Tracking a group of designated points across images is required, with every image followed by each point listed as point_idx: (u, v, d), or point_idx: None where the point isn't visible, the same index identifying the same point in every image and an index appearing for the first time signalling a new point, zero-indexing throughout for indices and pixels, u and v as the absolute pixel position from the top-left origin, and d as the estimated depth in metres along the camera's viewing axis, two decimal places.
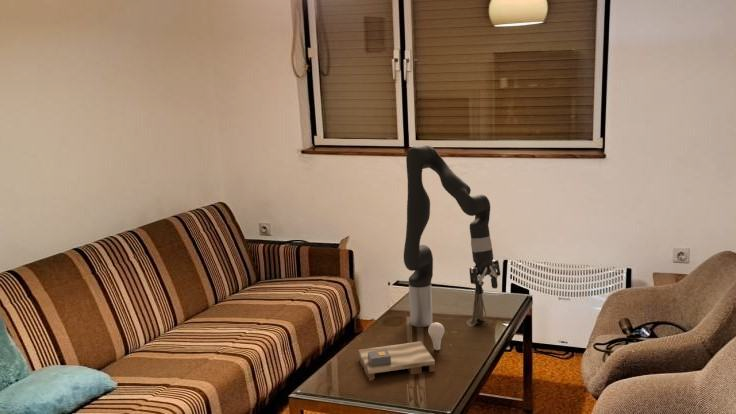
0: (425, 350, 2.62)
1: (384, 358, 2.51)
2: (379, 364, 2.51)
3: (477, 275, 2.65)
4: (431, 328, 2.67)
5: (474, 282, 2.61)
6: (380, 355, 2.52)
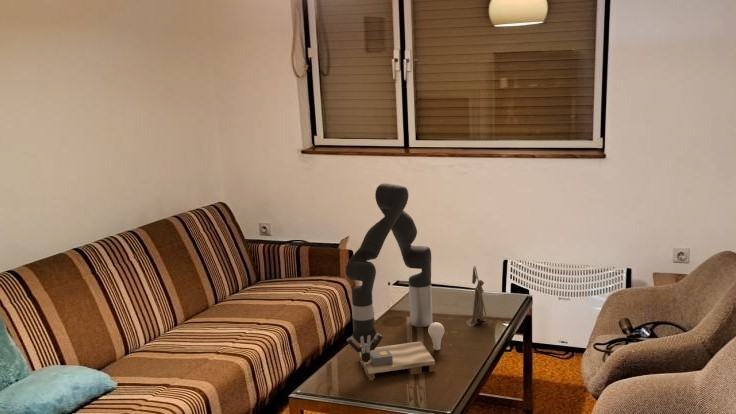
0: (425, 350, 2.62)
1: (385, 358, 2.51)
2: (381, 364, 2.51)
3: None
4: (431, 328, 2.67)
5: None
6: (382, 355, 2.52)
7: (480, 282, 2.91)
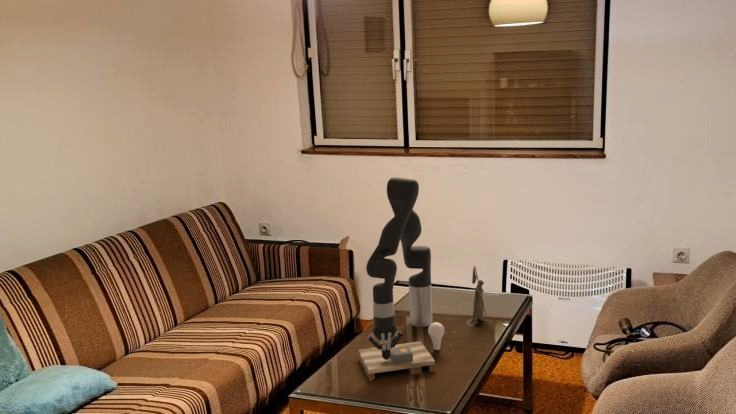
0: (425, 350, 2.62)
1: (406, 355, 2.52)
2: (401, 361, 2.52)
3: None
4: (431, 328, 2.67)
5: None
6: (402, 352, 2.54)
7: (480, 282, 2.91)
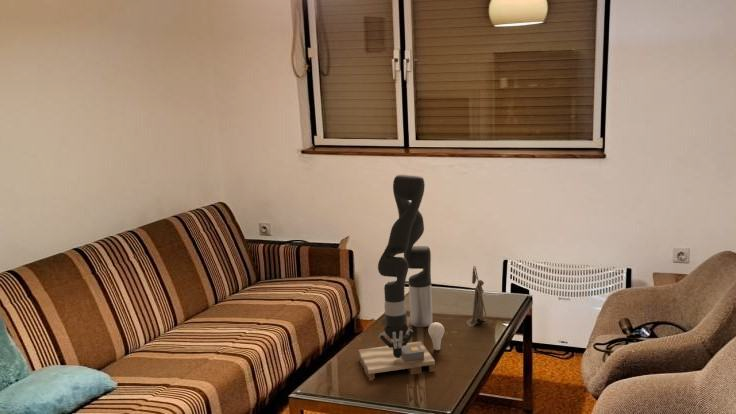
0: (425, 350, 2.62)
1: (417, 354, 2.53)
2: (412, 359, 2.53)
3: None
4: (431, 328, 2.67)
5: None
6: (413, 350, 2.54)
7: (480, 282, 2.91)
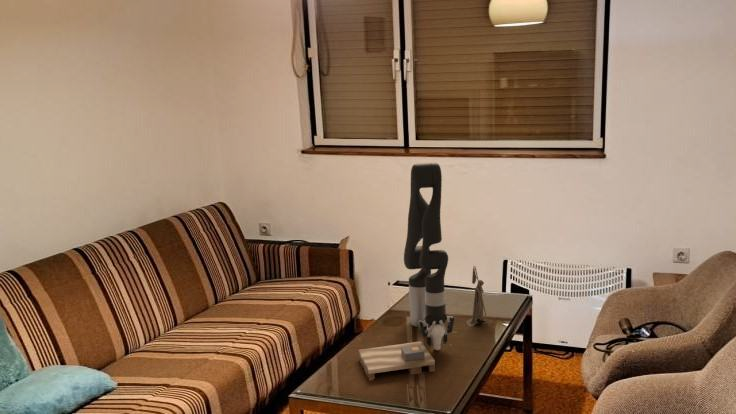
0: (425, 350, 2.62)
1: (418, 354, 2.53)
2: (413, 359, 2.53)
3: (429, 326, 2.70)
4: None
5: (422, 334, 2.68)
6: (414, 350, 2.54)
7: (480, 282, 2.91)
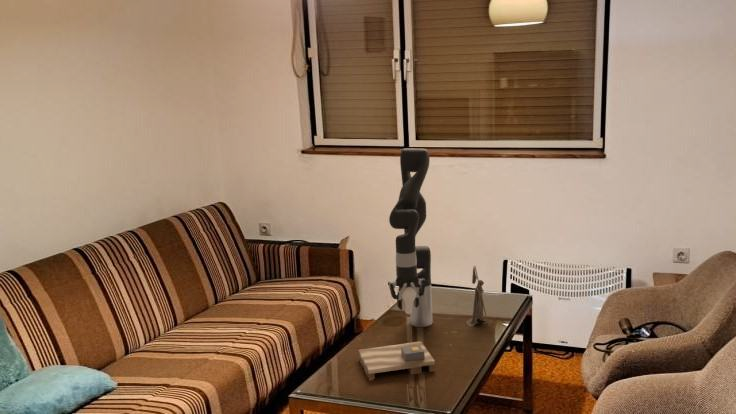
0: (425, 350, 2.62)
1: (418, 354, 2.53)
2: (413, 359, 2.53)
3: (400, 289, 2.61)
4: None
5: (393, 297, 2.59)
6: (414, 350, 2.54)
7: (480, 282, 2.91)
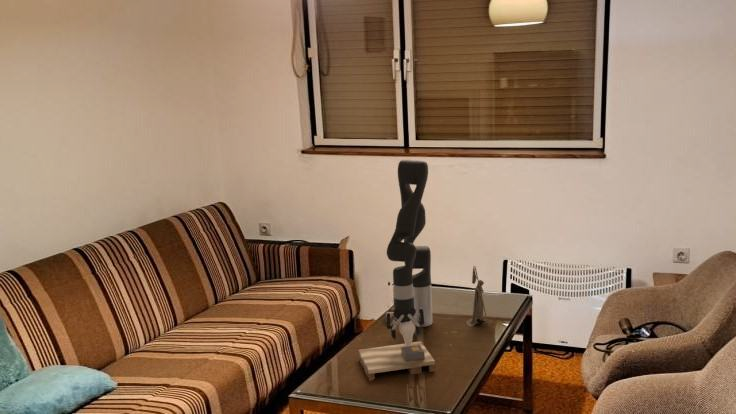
0: (425, 350, 2.62)
1: (418, 354, 2.53)
2: (413, 359, 2.53)
3: (396, 319, 2.63)
4: (401, 326, 2.61)
5: (386, 326, 2.60)
6: (414, 350, 2.54)
7: (480, 282, 2.91)
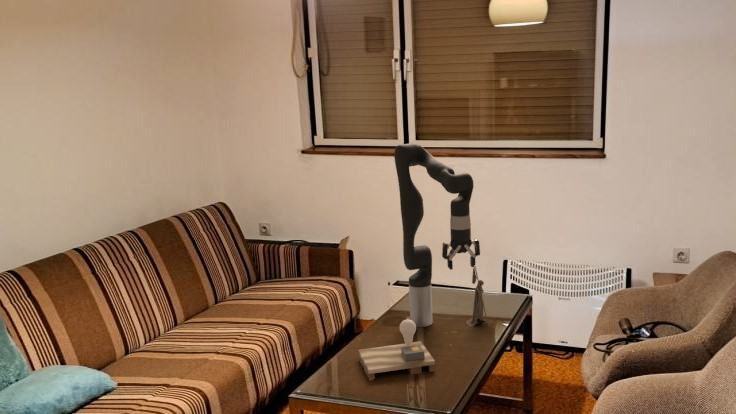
0: (425, 350, 2.62)
1: (418, 354, 2.53)
2: (413, 359, 2.53)
3: (452, 251, 2.70)
4: (402, 325, 2.61)
5: (443, 257, 2.68)
6: (414, 350, 2.54)
7: (480, 282, 2.91)
